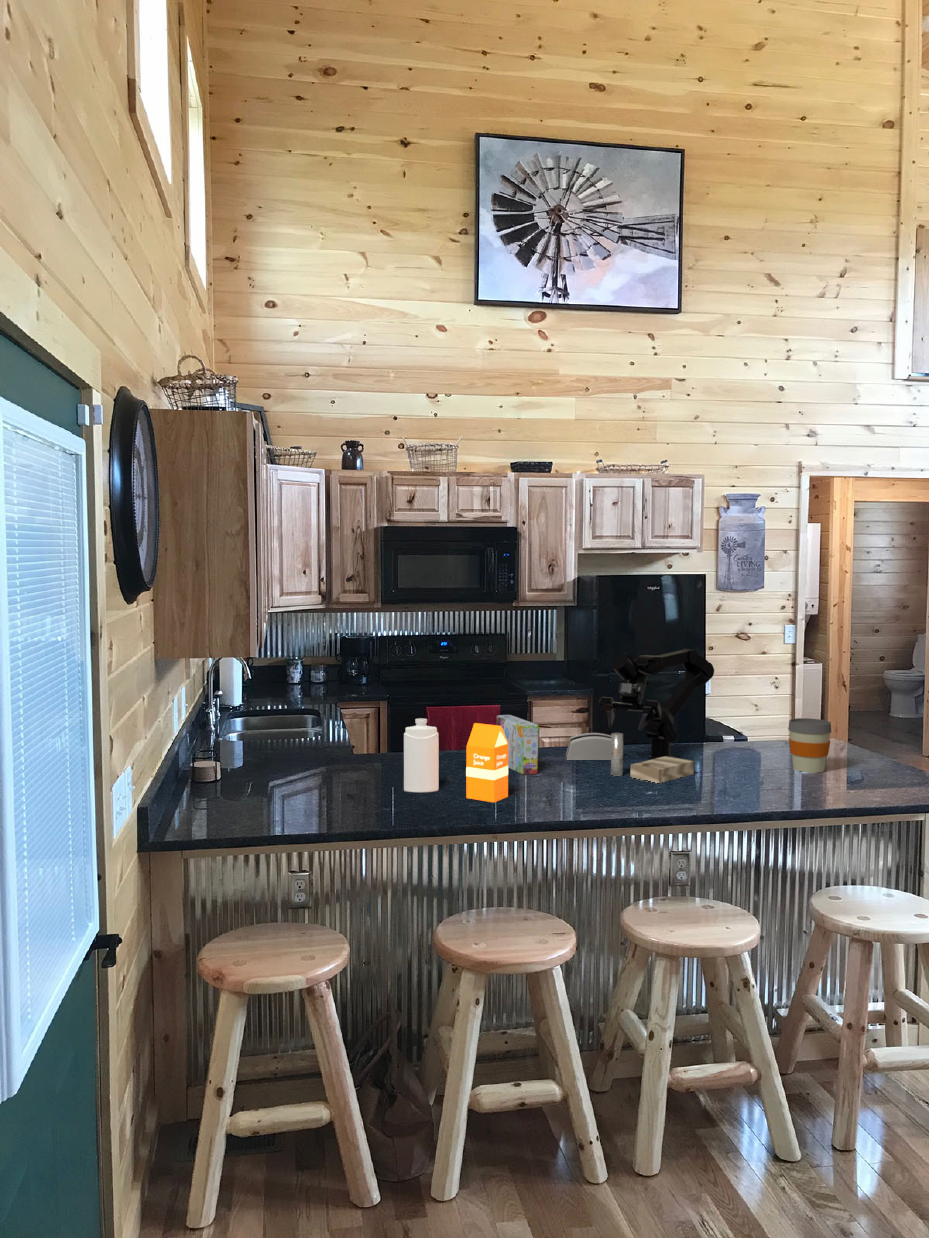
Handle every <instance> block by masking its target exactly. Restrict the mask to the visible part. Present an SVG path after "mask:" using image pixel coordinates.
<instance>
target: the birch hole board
mask: <svg viewBox="0 0 929 1238" xmlns="http://www.w3.org/2000/svg"><path fill="white" fill-rule="evenodd" d="M674 757H675V756H674ZM674 757H668V756H664V757H660V758H656V759H649V760H645V761H639V762H635V763H632V764H630V775H629V776H630V777H632V778H631V779H633V778H636V779H635V780H638V779H640V780H639V781H643V780H648V781H651V782H650V783H652V782H655V783H654V784H657V783H660V784H662V782H663V783H666V781H667V782H670V781H669V780H671V781H674V780H677V778H678V779H681V778H680V777H682V778H685V777H689V776H691V775H694V769H695V766H694V764H695V763H694V762H695V761H694V760H690V759H684V758H678V757H675V758H674ZM630 777H629V778H630ZM648 781H647V782H648Z"/></svg>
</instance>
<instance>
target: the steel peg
mask: <svg viewBox="0 0 929 1238" xmlns="http://www.w3.org/2000/svg"><path fill="white" fill-rule="evenodd" d="M610 736H611V761H610V776H611V775H613V776H612V777H615V776H620V777H623V776H622V775H624V774H623V773H624V733H621V732H612V733H611V734H610Z"/></svg>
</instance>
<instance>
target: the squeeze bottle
mask: <svg viewBox="0 0 929 1238" xmlns="http://www.w3.org/2000/svg"><path fill="white" fill-rule="evenodd" d="M414 723H415V725H412V726H406V727H405V728H404V729H405V732H404V733H403V791H404V792H409V793H432V792H433V793H434V792H438V791H439V789H440V787H439V781H440V780H439V775H440V774H439V769H440V768H439V757H440V755H439V752H440V751H439V750H440V749H439V741H440V740H439V736H440V735H439V732H438V728H437V727H436V726H430V725H427V723H428V719H427V718H421V717H419V718H415V722H414Z"/></svg>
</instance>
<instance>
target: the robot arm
mask: <svg viewBox="0 0 929 1238" xmlns="http://www.w3.org/2000/svg"><path fill="white" fill-rule="evenodd" d="M681 664H682V666H683V668H684V669H685V671H684V679H683V680H682V681H681V683H680V684H679V685H678V687H677V688H676V689H675V690H674V691H673V693H672V694H671V695H670V697H669V698H668V700H667V701H666V702H665V703H664V705H663V706H662V707H661V704H660V702H659V701H658V700H652V699H646V700H645V703H644V704H642V701H644V693H645V688H646V687H647V686H648V687H649V686H651V681H650V680H649V678H648V677H647V675H652V676H654V675H657V674H659V673H661V672H662V671H663V670H664V669H666V668H669V667H673V666H677V665H681ZM611 668H612V669H613V671H614V672H615V673H616V675H618V676H619V677H620V679H622V680H623V681H627V683H626V682H620V683H619V686H618V692H617V693H618V695H620V696H619V699H620V701H621V702H618V701H615V700H614V697H612V696H611V697H609V696H608V697H607V696H601V697H600V698H599V701H598V705H599V709H600V711H601V713H602V714H603V715H604V716H606V717H607V723H608V729H609V730H611V729H612V727H613V724H614V721H615V717H616V716H615V714H616V710H626V711H632V712H642V714H641V718H640V720H639V724H638V726H637V731H638V732H639V733H640V732H641V731H642V730H643V729H644V732H645V735H646V738H647V739H650V740H651V745H650V749H651V750H650V755H648V756H647V759H650V760H652V759H656V758H660V757H664V756H668V757H674V758H676V757H675V756H673V755H672V754H671V753H672V751H671V748H672V747H671V746H672V742H675V741H676V740H677V737H678V733H677V732H676V731H675V730H674V728H673V727H674V726H675V725H674V724H675V721H674V720H675V717H676V715H678V713H679V712H680V710H682V708H683V707H684V705H685V704H686V703H687V702H688V700H689V699H690V698H691V696H692V695H693V694H694V693H695V691H696V690H697V689H698V688H699V687H701V686H703V685H705V684H707V683H708V682H709V681H710V680H711V679H713V677H714V674H715V668H714V666H713V664H712V663H711V662H709V661H708V660H707V659H706V658H704V657H702V656H701V655H700V654H698V653H697V651H695V650H694V649H688V648H682V649H680V650H675V651H671V652H668V653H663V654H658V655H649V654H648V655H646V654H644V655H643V654H642V655H641V654H640V655H638V656H636V658H635V659H633V658H632V656H631V655H630V654H629V653H627V652H623V653H622V655H620V656H618V657H617V658H615V659H613V661H612V664H611Z"/></svg>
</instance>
